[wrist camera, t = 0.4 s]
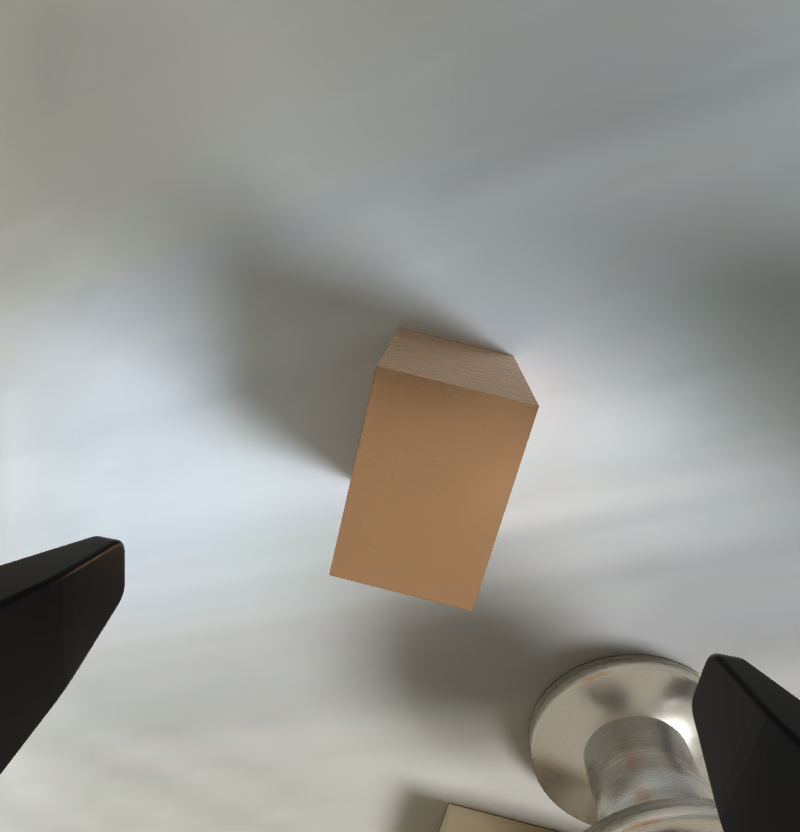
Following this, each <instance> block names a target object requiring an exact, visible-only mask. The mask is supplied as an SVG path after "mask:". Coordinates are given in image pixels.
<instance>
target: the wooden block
mask: <svg viewBox="0 0 800 832" xmlns="http://www.w3.org/2000/svg"><path fill="white" fill-rule="evenodd" d="M538 408H539V405H538V403H537V401H536V399H535V397H534V396H533V394H532V392H531V390H530V388H529V386H528V384H527V382H526V380H525V378H524V376H523V374H522V372H521V370H520V368H519V366H518V364H517V362H516V360H515V358H514V356H511V355H507V354H503V353H499V352H495V351H491V350H487V349H483V348H479V347H475V346H471V345H467V344H463V343H459V342H455V341H451V340H447V339H443V338H439V337H435V336H431V335H427V334H423V333H419V332H415V331H411V330H407V329H403V328H399V327H398V329H397V331H396V333H395V334H394V336H393V338H392V340H391V341H390V343H389V345H388V347H387V349H386V350H385V352H384V354H383V356H382V357H381V359H380V361H379V363H378V364H377V367H376V371H375V376H374V380H373V385H372V389H371V393H370V398H369V402H368V407H367V411H366V416H365V420H364V424H363V429H362V433H361V438H360V442H359V446H358V451H357V455H356V460H355V464H354V468H353V473H352V477H351V482H350V486H349V490H348V495H347V499H346V504H345V508H344V513H343V517H342V521H341V526H340V530H339V535H338V539H337V543H336V548H335V552H334V557H333V561H332V565H331V570H330V574H329V575H331V576H335V577H339V578H343V579H347V580H351V581H355V582H359V583H363V584H367V585H371V586H375V587H379V588H383V589H387V590H391V591H395V592H398V593H402V594H406V595H410V596H414V597H418V598H422V599H426V600H430V601H434V602H438V603H442V604H446V605H450V606H454V607H458V608H462V609H466V610H470V611H472V610H473V607H474V603H475V600H476V597H477V594H478V591H479V588H480V585H481V582H482V579H483V576H484V573H485V570H486V567H487V564H488V561H489V558H490V555H491V551H492V548H493V545H494V542H495V539H496V536H497V533H498V530H499V527H500V524H501V521H502V518H503V515H504V512H505V509H506V506H507V502H508V499H509V496H510V493H511V490H512V487H513V484H514V481H515V478H516V475H517V472H518V469H519V466H520V463H521V460H522V457H523V453H524V450H525V447H526V444H527V441H528V438H529V435H530V432H531V429H532V426H533V423H534V420H535V417H536V414H537V411H538Z"/></svg>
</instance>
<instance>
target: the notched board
mask: <svg viewBox="0 0 800 832" xmlns="http://www.w3.org/2000/svg"><path fill="white" fill-rule="evenodd" d="M439 832H556V831H553V830H549V829H545V828H541V827H537V826H533V825H529V824H526V823H522V822H518V821H514V820H510V819H506V818H502V817H499V816H495V815H491V814H487V813H483V812H479V811H475V810H472V809H468V808H464V807H460V806H456V805H452V804H449V805H448V808H447V810H446V813H445V816H444V819H443V822H442V824H441V827H440V830H439Z"/></svg>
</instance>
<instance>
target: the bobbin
mask: <svg viewBox="0 0 800 832" xmlns="http://www.w3.org/2000/svg"><path fill="white" fill-rule="evenodd" d="M700 676H701V675H700V674H698V673H697V672H695V671H693V670H692V669H690V668H688V667H686V666H684V665H682V664H679V663H677V662H674V661H671V660H668V659H664V658H659V657H654V656H647V655H619V656H611V657H606V658H602V659H597V660H594V661H591V662H588V663H586V664H583V665H581V666H579V667H577V668H575V669H573V670H571V671H569V672H568V673H566V674H565V675H563V676H562V677H560V678H559V679H558V680H557V681H555V682H554V683H553V684H552V685H551V686H550V687H549V688H548V689H547V690H546V691H545V693H544V694H543V695H542V697H541V698H540V700H539V701H538V703H537V705H536V707H535V709H534V711H533V714H532V718H531V721H530V728H529V741H530V748H531V755H532V761H533V766H534V771H535V774H536V777H537V779H538V782H539V783H540V785H541V787H542V789H543V790H544V792H545V793H546V794H547V795H548V797H549V798H550V799H551V800H552V801H553V802H554V803H555V804H556V805H557V806H558V807H560V808H561V809H562V810H564V811H565V812H566V813H568V814H569V815H571V816H573V817H575V818H576V819H578V820H580V821H583V822H585V823H587V824H590V825H592V826H590V827H589V828H588V829H586V830H585V831H584V832H723V829H722V826H721V823H720V819H719V816H718V812H717V809H716V805H715V801H714V797H713V793H712V789H711V786H710V782H709V778H708V774H707V770H706V766H705V762H704V758H703V754H702V750H701V746H700V742H699V738H698V734H697V730H696V726H695V722H694V718H693V714H692V699H693V695H694V692H695V689H696V687H697V684H698V681H699V679H700Z"/></svg>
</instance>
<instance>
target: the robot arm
mask: <svg viewBox="0 0 800 832" xmlns="http://www.w3.org/2000/svg"><path fill="white" fill-rule="evenodd" d="M124 587H125V550H124V545H123V543H122V542H121V541H119V540H116V539H110V538H105V537H100V536H94V537H90V538H87V539H84V540H81V541H78V542H74V543H71V544H68V545H65V546H61V547H58V548H55V549H52V550H49V551H45V552H42V553H39V554H36V555H33V556H29V557H26V558H23V559H20V560H17V561H13V562H10V563H7V564H4V565H1V566H0V774H1V773H2V772H3V770H4V769H5V768H6V766H7V765H8V764H9V762H10V761H11V760H12V758H13V757H14V756H15V755H16V753H17V752H18V751H19V749H20V748H21V747H22V745H23V744H24V743H25V741H26V740H27V739H28V738H29V736H30V735H31V734H32V732H33V731H34V730H35V728H36V727H37V726H38V725H39V723H40V722H41V721H42V719H43V718H44V717H45V715H46V714H47V713H48V711H49V710H50V709H51V708H52V706H53V705H54V704H55V702H56V701H57V700H58V698H59V697H60V695H61V694H62V693H63V691H64V690H65V689H66V687H67V686H68V684H69V683H70V681H71V680H72V678H73V676H74V675H75V673H76V672H77V670H78V669H79V667H80V665H81V664H82V662H83V661H84V659H85V657H86V656H87V654H88V652H89V651H90V649H91V648H92V646H93V644H94V643H95V641H96V640H97V638H98V636H99V635H100V633H101V631H102V630H103V628H104V627H105V625H106V623H107V622H108V620H109V619H110V617H111V615H112V614H113V612H114V610H115V609H116V607H117V606H118V604H119V602H120V600H121V598H122V596H123V592H124ZM692 714H693V718H694V722H695V726H696V730H697V734H698V738H699V742H700V746H701V750H702V754H703V758H704V762H705V766H706V770H707V774H708V778H709V782H710V786H711V789H712V793H713V797H714V801H715V805H716V809H717V812H718V816H719V819H720V823H721V826H722V829H723V832H800V700H799V699H798V698H796V697H795V696H793V695H792V694H791V693H789V692H788V691H787V690H785V689H784V688H782V687H781V686H780V685H778V684H777V683H776V682H774V681H773V680H771V679H770V678H769V677H767V676H766V675H765V674H763V673H762V672H761V671H759V670H758V669H756V668H755V667H754V666H752V665H751V664H750V663H748V662H747V661H745V660H744V659H742V658H739V657H734V656H728V655H723V654H717V653H715V654H712V655H710V657H709V658H708V659H707V661H706V663H705V666H704V668H703V671H702V674H701V676H700V679H699V681H698V684H697V687H696V689H695V692H694V695H693V699H692Z"/></svg>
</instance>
